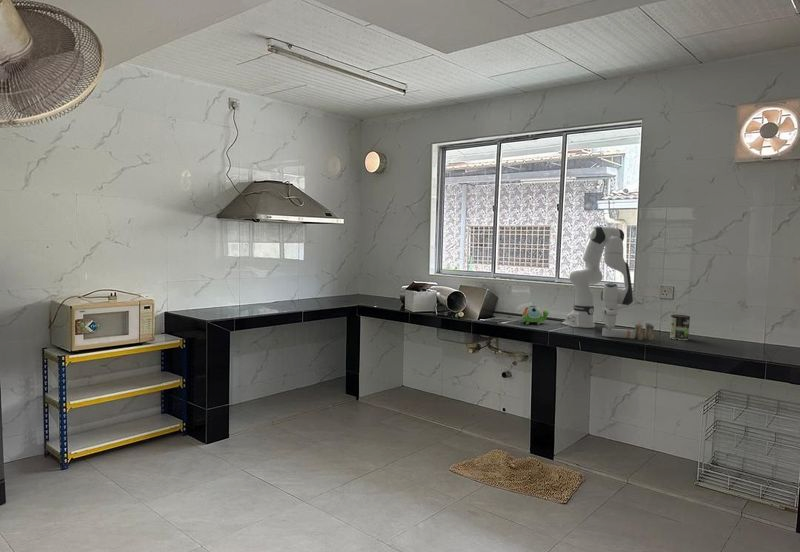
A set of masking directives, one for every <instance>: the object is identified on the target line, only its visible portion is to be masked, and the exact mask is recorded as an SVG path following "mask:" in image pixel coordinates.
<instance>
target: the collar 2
mask: <svg viewBox="0 0 800 552" xmlns="http://www.w3.org/2000/svg"><path fill="white" fill-rule="evenodd" d="M654 331H655V326H654V325H652V324H651V323H649V322H648V323H647V322H646V323H645V332H644V333H645V335H644V337H645V338H646V339H647V338H648V341H654Z"/></svg>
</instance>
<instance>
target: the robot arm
mask: <svg viewBox="0 0 800 552" xmlns="http://www.w3.org/2000/svg"><path fill="white" fill-rule="evenodd" d="M624 239H625V233H624V231H623V230H622V229H621V228H617V227H612V226H599V225H598V226H592V228H591V229H590V231H589V239H588V241H587V244H586V246H585V249H584V254H583V256H582V260H583V261H584V264H585V266H584V268H577V269H575V270H572V271H571V272H570V273H569V281H570V282H571V284H572V285H573V286H574V289H575V294H576V295H575V297H576V298H575V299H576V300H575V304H574V305H573V309H572V310H571V311H570V312H569V313H568V314H566V316H565V320H564V321H562V322H561V324H562V325H564V326H565V325H566V326H569V327H572V328H585V329H586V328H589V329H591V328H595V325H596V324H595V321H594V311H595V306H594V297H595V295H594V293H593V292H592V291H591V287H590V286H591V285H596V284H600V283H601V281H603V274H602V271H601V267H600V265H601V259H602V256H603V252H604V258H603V259H604V263H605V265H606V266H607V267H608V268H610V269H613V270H615V271H618V272H619V273H621V275H622V276H623V282H624V283H623V284H624V288H618V284H616V283H612V282H611V283H610V282H609V283H608V282H607V283H604V285H603V290H601V291H600V294H601V295H600V299H601V301H602V304H601V313H602V314H603V324H604V325H605V328H608V334H611V330H612V328H613V329H615V327H616V321H617V316H618V305H622V306H630V305H631V304H632V303H633V302H634V300H635V296H634V291H633V287H632V277H631V272H630V267H629V264H628V262H626V261H625V259H624Z"/></svg>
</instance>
